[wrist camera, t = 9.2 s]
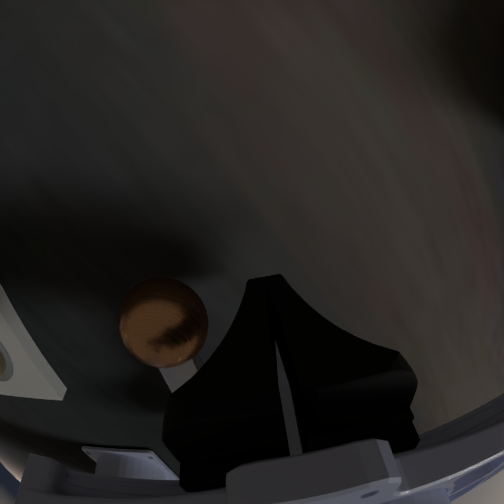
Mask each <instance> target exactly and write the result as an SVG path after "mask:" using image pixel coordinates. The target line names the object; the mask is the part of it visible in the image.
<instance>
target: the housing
mask: <svg viewBox="0 0 504 504" xmlns="http://www.w3.org/2000/svg"><path fill="white" fill-rule="evenodd" d="M5 369H6V361H5V358H4V356H3V354H2V352H1V351H0V379H1V377H2V375H3V373H4V371H5Z"/></svg>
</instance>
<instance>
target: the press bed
mask: <svg viewBox="0 0 504 504" xmlns="http://www.w3.org/2000/svg"><path fill="white" fill-rule="evenodd" d="M0 351H1V352H2V354H3V356H4V358H5V361H6V369H5V371H4V373H3V375H2V377H1V379H0V394H3V395H10V396H18V397H27V398H38V399H50V400H63V397H64V395H65V392H66V390H67V388H66V387H65V385H64V384H63V383H62V381H61V380H60V379H59V377H58V376H57V375H56V373H55V372H54V371H53V369H52V368H51V366H50V365H49V364H48V362H47V361H46V359H45V358H44V356H43V355H42V353H41V352H40V350H39V349H38V347H37V346H36V344H35V343H34V341H33V340H32V338H31V337H30V335H29V333H28V332H27V330H26V328H25V327H24V325H23V324H22V322H21V320H20V318H19V317H18V315H17V313H16V311H15V310H14V308H13V306H12V304H11V303H10V301H9V299H8V297H7V295H6V293H5V291H4V289H3V287H2V285H1V283H0Z"/></svg>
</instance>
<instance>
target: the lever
mask: <svg viewBox="0 0 504 504" xmlns="http://www.w3.org/2000/svg"><path fill="white" fill-rule="evenodd" d="M118 326H119V332H120V336H121V339H122V341H123V343H124V345H125V346H126V348H127V350H128V351H129V352H130V353H131V354H132V355H133V356H134V357H135V358H136V359H138V360H139V361H141V362H142V363H144V364H146V365H149V366H152V367H156V368H159V370H160V372H161V374H162V376H163V378H164V379H165V381H166V383H167V385H168V387H169V388H170V390H171V392H172V393H173V392H174V391H176V390H177V389H178V388H179V387H180V386H182V385H183V384H184V383H185V382H187V381H188V380H189V379H190V378H191V377H192V376H193V375H194V374H195V373H196V372H197V371H198V370H199V369H200V368H201V367H202V366H203V365H204V364H203V361H202V358H201V356H200V353H199V351H200V350H201V348H202V347H203V345H204V343H205V340H206V337H207V333H208V316H207V311H206V308H205V306H204V304H203V302H202V300H201V298H200V297H199V296H198V294H197V293H196V292H195V291H194V290H193V289H192V288H190V287H189V286H188V285H186V284H184V283H182V282H180V281H178V280H175V279H171V278H153V279H149V280H146V281H143V282H141V283H140V284H138V285H137V286H135V287H134V288H133V289H132V290H131V291H130V292H129V293H128V294H127V295H126V297H125V299H124V300H123V302H122V305H121V307H120V311H119V316H118Z"/></svg>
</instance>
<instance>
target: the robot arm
mask: <svg viewBox="0 0 504 504" xmlns="http://www.w3.org/2000/svg"><path fill="white" fill-rule="evenodd" d="M275 340H276V343H277V347H278V350H279V353H280V356H281V360H282V363H283V366H284V369H285V372H286V376H287V379H288V382H289V386H290V390H291V395H292V400H293V405H294V410H295V416H296V421H297V426H298V431H299V437H300V442H301V448H302V453H303V454H297V455H292V456H290V451H289V445H288V440H287V434H286V428H285V422H284V416H283V410H282V404H281V398H280V393H279V386H278V374H277V360H276V346H275ZM417 384H418V381H417V378H416V375H415V374H414V372H413V370H412V368H411V367H410V365H409V364H408V363H407V361H406V360H405V359H404V357H403V356H402V355H401V354H400V352H398V351H395V350H392V349H388V348H385V347H382V346H378V345H375V344H373V343H370V342H368V341H365V340H363V339H360V338H358V337H356V336H354V335H352V334H350V333H348V332H346V331H344V330H343V329H341V328H339V327H338V326H336V325H334V324H333V323H331V322H330V321H328V320H327V319H326V318H324V317H323V316H322V315H320V314H319V313H318V312H317V311H315V310H314V309H313V308H312V307H311V306H310V305H308V304H307V303H306V302H305V301H304V300H303V299H302V298H301V297H300V296H299V295H298V294H297V293H296V292H295V291H294V289H293V288H292V287H291V286H290V285H289V284H288V282H287V281H286V280H285V278H284V277H283V276H282V275H281V274H277V275H271V276H266V277H260V278H254V279H249V280H248V281H247V283H246V289H245V293H244V296H243V299H242V302H241V304H240V307H239V310H238V312H237V314H236V316H235V318H234V320H233V323H232V325H231V327H230V328H229V330H228V332H227V334H226V335H225V337H224V339H223V340H222V342H221V343H220V345H219V346H218V347H217V349H216V350H215V351H214V353H213V354H212V355H211V357H210V358H209V359H208V360H207V362H206V363H205V364H204V365H203V366H202V367H201V368H200V369H199V370H198V371H197V372H196V373H195V374H194V375H193V376H192V377H191V378H190V379H189V380H188V381H187V382H185V383H184V384H183V385H182V386H180V387H179V388H178V389H177V390H176V391H174V392H173V393H172V394H171V395H170V398H169V401H168V404H167V408H166V411H165V415H164V422H163V431H162V441H163V443H164V444H165V446H166V447H167V448H168V450H169V451H170V452H171V453H172V454H173V456H174V457H175V458H176V459H177V460H178V461H179V462H180V479H179V478H178V477H177V476H176V475H175V474H174V473H173V472H172V471H171V470H170V469H169V468H168V467H167V466H166V465H165V464H164V463H163V462H162V461H161V460H160V459H159V458H158V457H157V456H156V455H155V453H154V452H152V451H150V450H135V449H115V448H102V447H91V446H82V451H84V452H85V453H86V454H87V455H88V456H89V457H90V458H91V459H93V460H94V461H95V462H96V463H97V464H96V468H95V473H94V474H90V473H84V472H78V471H72V470H67V469H66V467H64V466H63V465H62V464H61V463H60V462H58V461H56V460H54V459H52V458H49V457H44V456H39V455H35V454H29V457H28V460H27V463H26V466H25V470H24V473H23V476H22V480H21V483H20V487H19V491H18V494H17V498H16V502H15V504H451V501H453V500H455V499H457V498H458V497H460V496H462V495H464V494H465V493H467V492H469V491H470V490H472V489H474V488H475V487H477V486H479V485H480V484H482V483H483V482H485V481H486V480H488V479H489V478H491V477H492V476H494V475H495V474H497V473H498V472H500V471H501V470H503V469H504V394H502V395H500V396H499V397H497V398H495V399H493V400H492V401H490V402H488V403H486V404H484V405H482V406H481V407H479V408H477V409H475V410H473V411H471V412H469V413H467V414H465V415H463V416H461V417H459V418H457V419H455V420H453V421H450V422H448V423H446V424H444V425H442V426H439V427H437V428H435V429H432V430H430V431H427V432H425V433H423V434H420V435H418V434H417V431H416V429H415V427H414V425H413V423H412V421H413V419H414V415H413V413H412V411H411V409H410V405H411V403H412V400H413V397H414V395H415V392H416V389H417Z"/></svg>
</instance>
